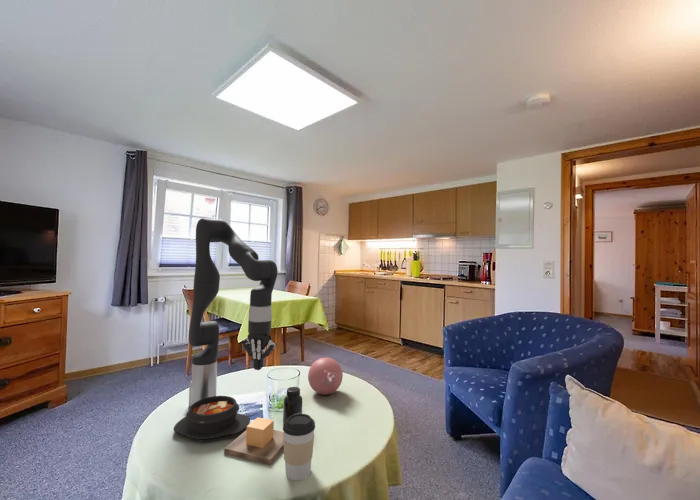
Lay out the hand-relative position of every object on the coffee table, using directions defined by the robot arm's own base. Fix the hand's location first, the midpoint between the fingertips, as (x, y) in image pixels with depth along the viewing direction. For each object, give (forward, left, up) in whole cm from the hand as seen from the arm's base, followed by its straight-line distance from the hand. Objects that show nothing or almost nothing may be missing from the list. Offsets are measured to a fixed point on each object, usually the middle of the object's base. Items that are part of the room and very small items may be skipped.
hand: (258, 369), depth 106 cm
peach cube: (+5, -5, -20) cm, 22 cm away
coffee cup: (+22, -12, -22) cm, 33 cm away
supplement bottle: (+8, +11, -22) cm, 26 cm away
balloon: (+11, +36, -22) cm, 44 cm away
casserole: (-16, -2, -22) cm, 28 cm away
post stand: (+5, -5, -22) cm, 23 cm away
